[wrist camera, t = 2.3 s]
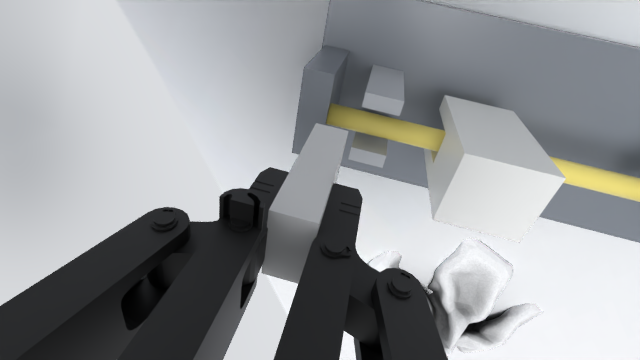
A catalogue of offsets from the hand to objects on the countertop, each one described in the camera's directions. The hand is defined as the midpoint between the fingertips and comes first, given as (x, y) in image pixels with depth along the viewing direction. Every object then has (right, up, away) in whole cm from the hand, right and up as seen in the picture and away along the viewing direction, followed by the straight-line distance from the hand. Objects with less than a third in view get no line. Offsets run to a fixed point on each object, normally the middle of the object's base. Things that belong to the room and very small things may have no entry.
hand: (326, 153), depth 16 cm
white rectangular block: (+9, +2, +5) cm, 10 cm away
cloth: (+13, -14, +19) cm, 27 cm away
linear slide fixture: (+13, +3, +7) cm, 15 cm away
